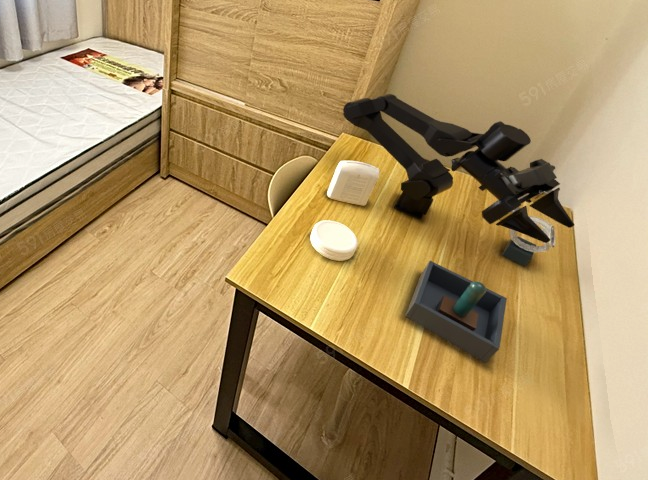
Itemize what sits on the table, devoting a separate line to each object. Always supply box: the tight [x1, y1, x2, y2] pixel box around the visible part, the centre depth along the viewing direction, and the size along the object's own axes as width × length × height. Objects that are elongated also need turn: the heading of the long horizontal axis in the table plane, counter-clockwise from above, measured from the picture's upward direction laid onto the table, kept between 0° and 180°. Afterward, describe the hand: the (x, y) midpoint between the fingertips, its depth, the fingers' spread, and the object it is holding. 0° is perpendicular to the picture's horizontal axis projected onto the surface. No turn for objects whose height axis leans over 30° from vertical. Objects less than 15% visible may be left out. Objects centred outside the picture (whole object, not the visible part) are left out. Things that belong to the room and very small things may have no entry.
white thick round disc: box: [309, 219, 359, 262], centre depth 96 cm, size 10×10×4 cm
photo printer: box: [326, 160, 380, 207], centre depth 107 cm, size 10×4×12 cm, turn 73°
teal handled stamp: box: [435, 280, 487, 331], centre depth 77 cm, size 6×4×12 cm, turn 49°
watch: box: [501, 215, 556, 267], centre depth 92 cm, size 6×8×11 cm
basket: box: [404, 260, 508, 364], centre depth 81 cm, size 14×14×5 cm
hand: (560, 234), depth 80 cm, fingers open, 9 cm apart
